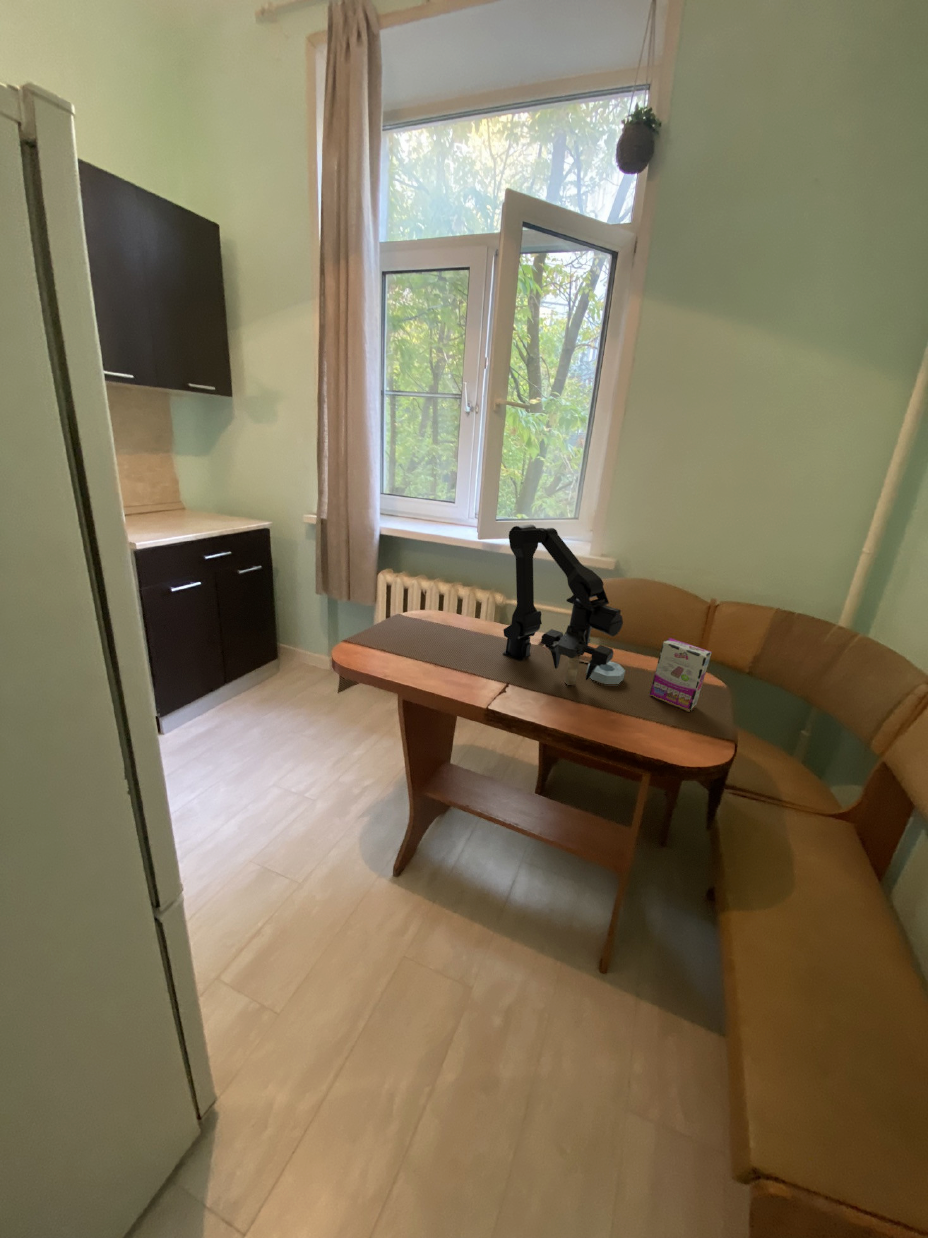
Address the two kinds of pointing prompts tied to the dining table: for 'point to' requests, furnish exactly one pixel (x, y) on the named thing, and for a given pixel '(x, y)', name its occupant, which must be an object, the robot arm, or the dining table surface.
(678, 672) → the candy bar box
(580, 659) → the brown wooden stick
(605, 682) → the bead
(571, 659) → the beige wooden cylinder
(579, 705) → the dining table surface
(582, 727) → the dining table surface
